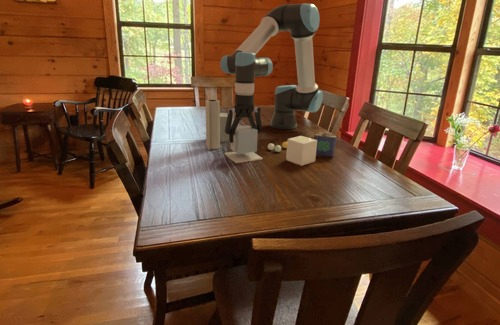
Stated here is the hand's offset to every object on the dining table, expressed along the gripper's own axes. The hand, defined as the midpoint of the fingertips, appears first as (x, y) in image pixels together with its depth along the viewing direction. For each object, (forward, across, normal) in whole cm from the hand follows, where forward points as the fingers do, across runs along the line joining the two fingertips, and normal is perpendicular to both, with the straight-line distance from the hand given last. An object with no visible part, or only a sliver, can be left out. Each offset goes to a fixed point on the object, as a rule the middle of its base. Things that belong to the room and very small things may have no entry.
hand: (243, 148), depth 137 cm
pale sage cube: (0, 0, 0) cm, 0 cm away
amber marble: (+1, -23, -4) cm, 23 cm away
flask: (+4, -33, +11) cm, 35 cm away
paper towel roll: (+4, +8, -16) cm, 18 cm away
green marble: (+3, -17, 0) cm, 17 cm away
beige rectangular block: (+3, -20, +13) cm, 24 cm away
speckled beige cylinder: (+4, -2, -27) cm, 27 cm away
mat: (+4, 0, 0) cm, 4 cm away
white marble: (+3, -15, -4) cm, 16 cm away
